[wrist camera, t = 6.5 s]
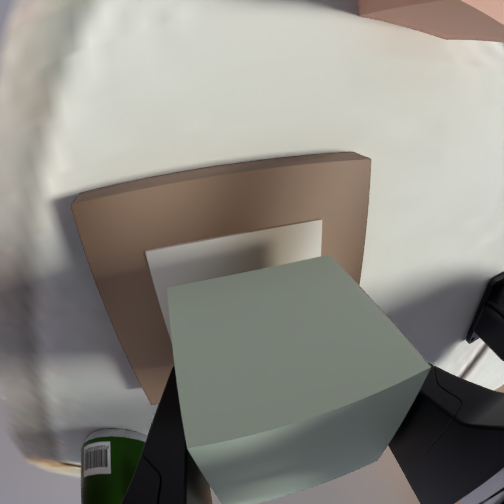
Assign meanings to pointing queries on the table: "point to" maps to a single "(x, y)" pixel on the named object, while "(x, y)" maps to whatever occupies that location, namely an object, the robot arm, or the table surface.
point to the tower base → (214, 237)
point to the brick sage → (287, 377)
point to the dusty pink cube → (442, 17)
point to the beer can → (109, 464)
